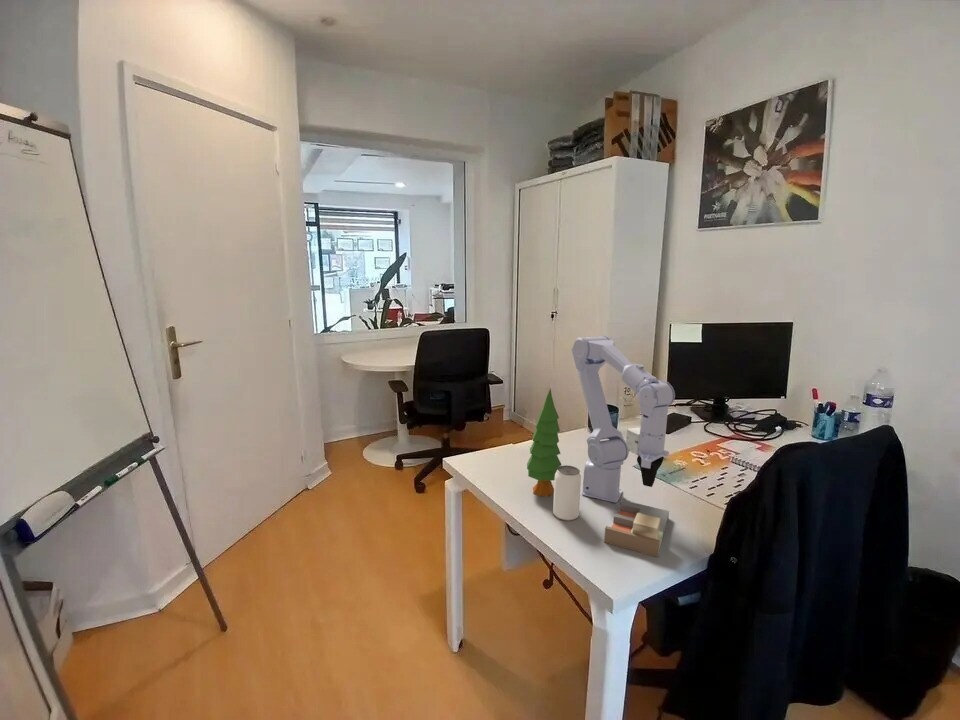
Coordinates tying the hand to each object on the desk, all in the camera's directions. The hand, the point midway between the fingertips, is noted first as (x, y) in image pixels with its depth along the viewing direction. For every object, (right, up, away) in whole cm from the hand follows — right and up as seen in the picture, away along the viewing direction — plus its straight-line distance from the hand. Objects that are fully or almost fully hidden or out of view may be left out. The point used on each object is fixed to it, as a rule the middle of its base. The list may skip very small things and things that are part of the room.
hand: (648, 485), depth 115 cm
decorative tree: (-24, -6, +16) cm, 30 cm away
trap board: (-3, -10, -2) cm, 11 cm away
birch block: (-4, -9, -9) cm, 13 cm away
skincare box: (+13, -1, +47) cm, 49 cm away
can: (-19, -9, +4) cm, 22 cm away
